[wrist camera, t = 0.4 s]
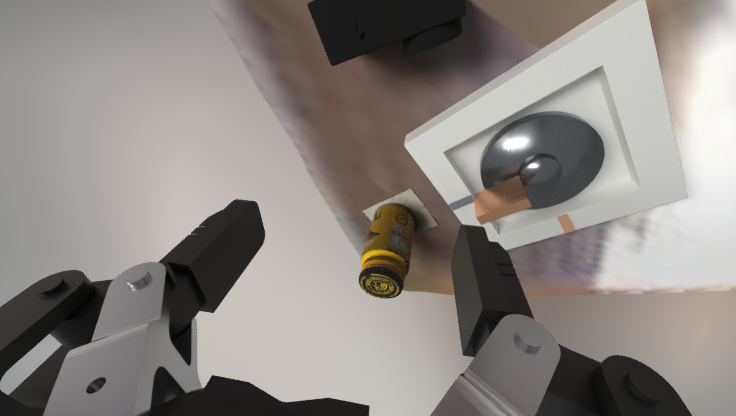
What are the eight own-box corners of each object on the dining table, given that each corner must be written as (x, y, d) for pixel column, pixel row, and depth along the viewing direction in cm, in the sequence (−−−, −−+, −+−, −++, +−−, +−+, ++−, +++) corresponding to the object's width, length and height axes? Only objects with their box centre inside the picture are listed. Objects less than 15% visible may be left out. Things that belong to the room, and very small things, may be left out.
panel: (625, -5, 20) (645, -4, 18) (671, 183, 28) (689, 198, 26) (406, 135, 31) (403, 145, 29) (484, 242, 39) (486, 256, 37)
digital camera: (356, 63, 27) (335, 82, 22) (334, -1, 24) (304, 4, 19) (463, 23, 23) (469, 35, 18) (453, -59, 20) (457, -73, 15)
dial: (578, 86, 24) (609, 111, 19) (610, 175, 28) (642, 212, 24) (451, 154, 30) (452, 184, 26) (493, 217, 35) (501, 252, 30)
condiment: (362, 210, 40) (339, 276, 31) (411, 187, 35) (400, 257, 27) (390, 241, 43) (376, 309, 34) (438, 223, 38) (436, 297, 30)
